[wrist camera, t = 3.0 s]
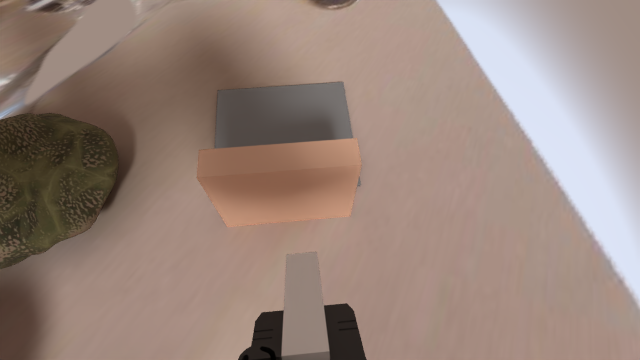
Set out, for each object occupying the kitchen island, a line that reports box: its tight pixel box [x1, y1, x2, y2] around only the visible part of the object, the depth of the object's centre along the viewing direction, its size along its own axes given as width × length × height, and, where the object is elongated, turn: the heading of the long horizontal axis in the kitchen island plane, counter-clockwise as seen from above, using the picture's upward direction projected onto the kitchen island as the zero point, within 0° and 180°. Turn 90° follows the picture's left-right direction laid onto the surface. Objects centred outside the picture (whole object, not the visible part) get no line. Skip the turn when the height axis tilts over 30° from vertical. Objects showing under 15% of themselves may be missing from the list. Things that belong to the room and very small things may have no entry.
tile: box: [197, 138, 362, 227], centre depth 31 cm, size 2×12×10 cm, turn 96°
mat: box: [215, 82, 361, 186], centre depth 39 cm, size 14×15×1 cm
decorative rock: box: [0, 113, 118, 269], centre depth 31 cm, size 15×16×10 cm
